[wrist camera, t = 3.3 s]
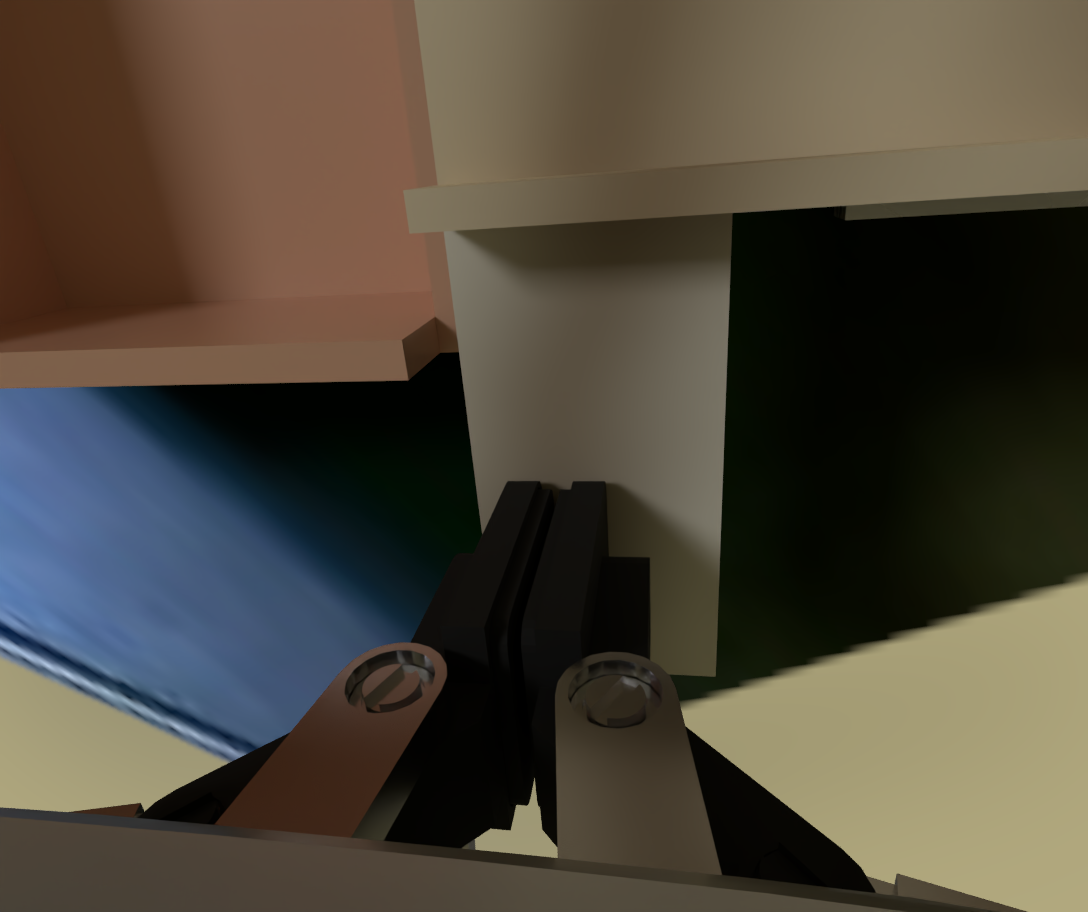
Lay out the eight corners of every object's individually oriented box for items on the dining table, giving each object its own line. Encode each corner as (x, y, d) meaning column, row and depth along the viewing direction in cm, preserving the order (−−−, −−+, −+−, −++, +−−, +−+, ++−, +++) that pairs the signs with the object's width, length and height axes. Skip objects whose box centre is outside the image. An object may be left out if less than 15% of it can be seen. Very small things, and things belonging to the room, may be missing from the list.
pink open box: (445, -429, 13) (150, -1184, 6) (513, 312, 18) (411, 416, 11) (-142, -280, 15) (-864, -661, 8) (75, 329, 21) (-237, 422, 14)
